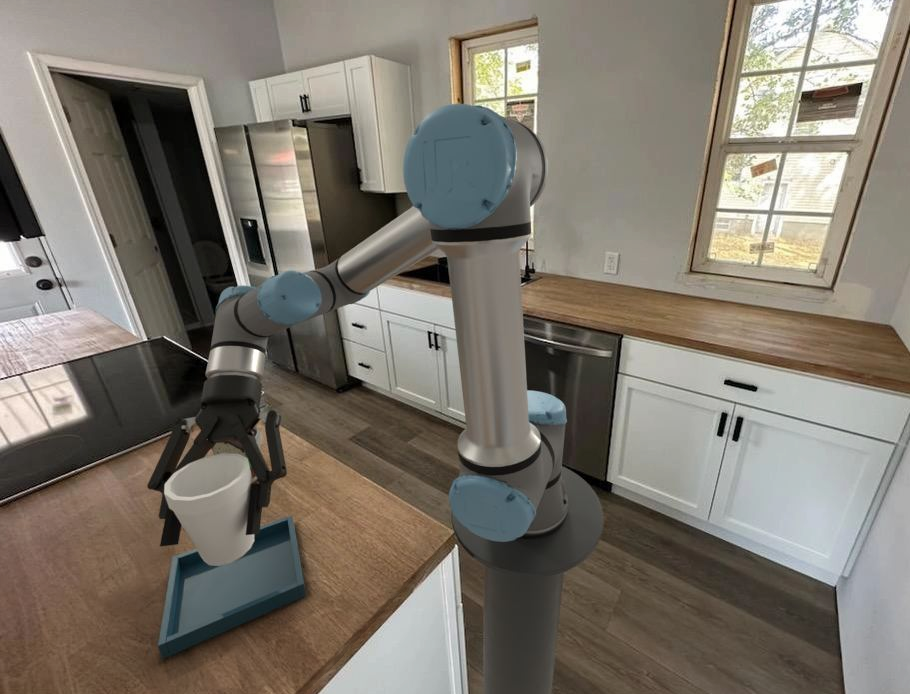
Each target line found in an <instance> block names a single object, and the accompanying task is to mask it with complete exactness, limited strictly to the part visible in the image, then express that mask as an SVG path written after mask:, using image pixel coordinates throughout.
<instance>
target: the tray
mask: <svg viewBox="0 0 910 694" xmlns="http://www.w3.org/2000/svg"><path fill="white" fill-rule="evenodd" d="M297 537H298V536H297V532H296V527H295V521H294V516H293V514H291V515H289V516H285V517H282V518H279V519H276V520H274V521H271V522H268V523H266V524H262V525H260V533H259V534H254V542H253V544H252V547H251V548H250V549H249V550H248V551H247V552H246V553H245V554H244V555H243V556H242V557H240V558H238V559H237V560H235V561H233V562H231V563H228V564H224V565H221V566H212V565H208V564H207V563H206V562H204V561H203V559H202V558H201V556H200V554H199V553H198V551H197V550H196V548H194V549H191V550H188V551H185V552H182V553H179V554H177V555H174V556H172V557H171V562H170V568H169V575H168V579H167V580H168V581H167V587H166V591H165V592H166V593H165V598H164V605H163V611H162V617H161V623H160V629H159V635H158V640H157V641H158V642H157V648H158V651H159V653H160V655H161V659H162V660H164V659H167V658H168V657H172V656H174V655H176V654H178V653H180V652H182V651H185V650H187V649H189V648H192V647H193V646H195V645H198V644H201V643H203V642H205V641H207V640H209V639H211V638H214V637H216V636H218V635H221V634H224V633H226V632H227V631H229V630H232V629H234V628H236V627H238V626H242V625H243V624H245V623H248V622H250V621H253V620H254V619H256V618H259V617H261V616H264V615H266V614H268V613H270V612H273V611H275V610H277V609H280V608H282V607H285V606H286V605H289V604H290V603H293V602H295V601H298V600H300V599H302V598H304V597H306V596H307V593H306V587H305V581H304V575H303V568H302V563H301V556H300V550H299V543H298V538H297Z"/></svg>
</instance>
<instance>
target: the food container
mask: <svg viewBox="0 0 910 694" xmlns="http://www.w3.org/2000/svg"><path fill="white" fill-rule="evenodd" d="M252 432H253V435H254V437H255V439H256V443H257V445H258V447H259V449H260V450H261V445H262V443H263V440H264V437H263V435H262V433H261V430H260V429H259V428H258V427H257V425H256V426H255V427H254V428H253V429H252ZM211 451H212V455H217V454H222V453H235V454H240V455H242V456H244V457H246V458H248V457H247V455H246V453H245V451H244V449H243V447H242V445H241V443H240V442H239V441H226V442H223V443H216V444H215V446H214V447H213V448H212V449H211ZM248 462H249V460H248ZM249 466H250V470H251V475H252V479H253V480H252V482H251V484H257V483H259V482H258V481H257V480H258V479H257V477H256V475H255V472H254V470H253V468H252V466H251V464H250V462H249Z"/></svg>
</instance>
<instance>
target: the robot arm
mask: <svg viewBox="0 0 910 694" xmlns="http://www.w3.org/2000/svg"><path fill="white" fill-rule="evenodd" d="M402 166H403V168H402V175H403V183H404V186H405V191H406V193H407V196H408V198H409V200H410V202H411V204H412V206H411V207H410V208H409V209H407V210H406V211H404V212H402V214H400V215H399V216H397V217H396V218H394V219H393V220H391V221H390V222H389V223H387V224H385V225H384V226H382V227H381V228H380V229H379V230H377V231H375V232H374V233H373V234H371V235H369V236H368V237H367V238H366V239H364V240H363V241H361V242H360V243H358V244H357V245H356V246H354V247H353V248H350V250H348V251H347V252H345V253H344V254H342V255H341V256H340V257H339V258H337V259H335V260H334V261H333V262H331V263H330V264H328V265H325V266H324V267H321V268H317V269H313V270H309V271H305V272H301V271H296V270H286V271H285V270H284V271H282V272H280V273H279V274H276V275H272V276H271V277H269V278H267V279H266V280H265V281H263V282H262V283H261V284H260V285H258V286H251V285H243V284H242V285H241V284H240V285H239V284H238V285H237V286H228V287H227V288H225V289H223V290H222V292H221V293H220V296H219V299H218V302H217V305H216V307H215V318H214V324H213V329H212V330H213V332H212V337H211V344H210V349H209V355H208V360H207V366H206V370H205V377H206V378H207V379H205V381H204V383H203V388H202V394H201V400H200V410H199V411H198V413H197V414H196V415H195V416H193V417H187V418H182V417H180V416H179V417H178V416H177V417H175V418H173V419H172V421H171V434H170V436H169V438H168V439H167V442H166V444H165V446H164V448H163V451H162V453H161V455H160V456H159V459H158V461H157V464H156V465H155V468H154V470H153V472H152V473H151V476H150V479H149V481H148V483H147V489H148V490H152V491H157V492H159V493H161V495H162V496H161V501H160V507H159V510H158V511H159V512H158V519H159V520H164V521H163V522H164V523H163V527H162V533H161V538H160V543H159V547H168V546H175V545H179V542H180V537H181V531H182V525H181V523H180V521H179V520H178V518H177V516H176V515H175V513H174V511H173V510H171V509H170V508H169V506H168V503H167V500H166V498H165V495H164V487H165V483H166V482H167V481H168V480H169V478H170V477H171V476H172V475H173V474H174V473H175V472H177V471H178V470H180V469H181V468H183V467H184V466H186V465H187V464H189V463H191V462H194V461H196V460H199V459H202V458H204V457H207V454H208V453H209V451H210V450H212V448H213V447H214V446H215V444H216V443H223V442H226V441H239V442H240V443H241V445H242V447H243V449H244V451H245V453H246V455H247V457H248V460H249V462H250V464H251V466H252V468H253V470H254V472H255V475H256V477H257V479H258V480H257V481H258V482H257V483H256V484H251V492H250V501H249V510H248V518H247V527H246V535H253V534H259V533H260V526H261V524H262V523H261V522H262V513H263V508H269V506H270V503H271V496H272V495H271V494H272V485H273V484H274V482H275V481H277V480H279V479H282V478H285V477H286V476H287V474H288V470H287V465H286V459H285V454H284V449H283V441H282V437H281V431H280V425H281V422H282V421H281V420H282V415H281V414H280V413H279V412H277V411H276V410H274V409H271V410H269V411H261V408H260V405H261V400H262V390H263V383H262V382H261V381H263V379H264V371H265V364H266V357H267V356H266V355H267V348H268V347H267V346H268V341H269V338H270V337H273V336H275V335H277V334H278V333H282V331H285V330H286V329H289V328H291V327H293V326H296V325H298V324H300V323H303V322H306V321H309V320H311V319H315V318H317V317H319V316H322V315H324V314H328V313H330V312H332V311H335V310H337V309H340V308H343V307H345V306H348V305H353V304H356V303H358V302H360V301H361V300H363V299H365V298H366V297H368V296H369V294H370V293H371V291H372V290H374V289H376V288H377V287H379V286H381V285H382V284H384V283H387V282H388V281H390V280H391V279H393V278H394V277H396V276H397V275H399V274H401V273H402V272H404V271H406V270H408V269H409V268H411V267H412V266H414V265H416V264H417V263H419V262H421V261H422V260H424V259H426V258H427V257H429V256H431V255H433V254H434V253H436V252H437V251H441V252H442V253H443V254H444V255H445V257H446V259H447V260H446V261H447V268H448V276H449V285H450V295H451V302H452V311H453V320H454V328H455V339H456V348H457V355H458V356H457V357H458V366H459V374H460V383H461V393H462V401H463V409H464V418H465V426H466V427H465V429H464V430H463V431H462V432H461V433H460V434H459V436H458V439H457V444H456V445H457V456H458V463H459V474H458V477H456V478H455V479H454V480H453V482H452V483H451V487H450V489H449V492H448V504H449V507H450V511H451V510H452V512H453V514H454V515H455V517H456V518H457V519H458V521H459V522H460V523H461V524H462V525H464V526H465V527H467V528H468V529H469V530H470V531H471V532H473V533H474V534H476V535H478V536H480V537H483V538H485V539H488V540H492V541H499V542H507V541H512V540H515V539H516V538H518V537H519V538H526V539H533V538H541V537H544V536H547V535H550V534H552V533H554V532H555V531H557V530H558V529H559V528H560V527H561V526H562V525H563V523H564V522H565V520H566V517H567V513H568V498H567V494H566V490H565V487H564V484H563V480H562V477H561V468H562V466H563V456H564V445H565V433H566V424H567V423H568V419H567V408H566V405H565V403H564V402H563V401H562V400H560V399H559V398H558V397H556V396H554V395H553V394H549V393H547V392H543V391H537V390H528V383H527V382H528V381H527V365H526V363H527V362H526V347H525V344H526V343H525V328H524V315H523V314H524V311H523V293H522V292H523V291H522V277H521V258H520V251H521V250H522V247H523V246H524V245H526V243H527V242H528V240H529V239H530V238H531V237H532V217H531V207H532V206H534V205H535V203H537V201H538V200H539V199H540V197H541V196H542V194H543V193H544V191H545V188H546V185H547V183H548V178H549V160H548V154H547V151H546V148H545V146H544V144H543V143H542V140H541V139H540V138H539V136H538V135H537V134H536V133H535V132H534V130H532V129H531V128H530V127H529V126H527V125H525V124H523V123H521V122H519V121H517V120H514V119H511V118H507V117H505V116H503V115H501V114H499V113H498V112H495V111H494V110H493V109H492V108H490V107H486V106H482V105H478V104H477V105H471V104H466V103H451V104H447V105H443V106H441V107H439V108H436V109H435V110H433V111H431V112H430V113H428V114H427V115H426V116H425V117H424V118H422V120H421V121H420V122H419V124H418V125H417V127H416V129H415V130H414V132H412V134H411V135H410V137H409V139H408V142H407V144H406V147H405V151H404V156H403V165H402ZM260 421H261V424H262V425H263V426H264V431H265V439H266V443H267V444H266V445H267V450H268V455H269V461H270V468H271V469H270V468H269V466H268V464H267V462H266V459H265V458H264V455H263V453H262V451H261V448H260V449H259V447H258V445H257V443H256V439H255V437H254V435H253V432H252V429H253V428H254V427H255V426H256V427H257V425H258V423H259V422H260ZM196 427H198V428H199V430H200V431H199V432H198V434H197V435H196V437H195V438H194V439H193V444H192V445H191V446H190V448H189V450H188V451H187V452H186V453H185V455H184V456H183V453H184V451H185V449H186V446H187V444H188V442H189V440H190V437H191V434H192V433H194V431H195V428H196ZM182 456H183V458H182ZM181 458H182V459H181Z"/></svg>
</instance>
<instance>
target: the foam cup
mask: <svg viewBox="0 0 910 694" xmlns="http://www.w3.org/2000/svg"><path fill="white" fill-rule="evenodd" d="M252 480H253V479H252V475H251V470H250V466H249V462H248V458H246V457H244V456H242V455H240V454H235V453H222V454H217V455H214V454H212V455H206V456H205V457H204V458H202V459H199V460H196V461H194V462H191V463H189V464H187V465H186V466H184V467H183V468H181V469H180V470H178V471H177V472H175V473H174V474H173V475H172V476H171V477H170V478H169V480H168V481H167V482H166V483H165V487H164V495H165V498H166V500H167V503H168V506H169V508H170V509H171V510H173V511H174V513H175V515H176V516H177V518H178V520H179V521H180V523H181V527H182V528H183V529H184V531H185V533H186V535H187V537H188V538H189V540H190V541H191V543H192V545H193V546H194V549H196V550H197V551H198V553H199V554H200V556H201V558H202V559H203V561H204V562H206V563H207V564H208V565H212V566H221V565H224V564H228V563H231V562H233V561H235V560H237V559H238V558H240V557H242V556H243V555H244V554H245V553H246V552H247V551H248V550H249V549H250V548H251V547H252V544H253V542H254V534H253V535H246V527H247V518H248V510H249V501H250V492H251V482H252Z"/></svg>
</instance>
